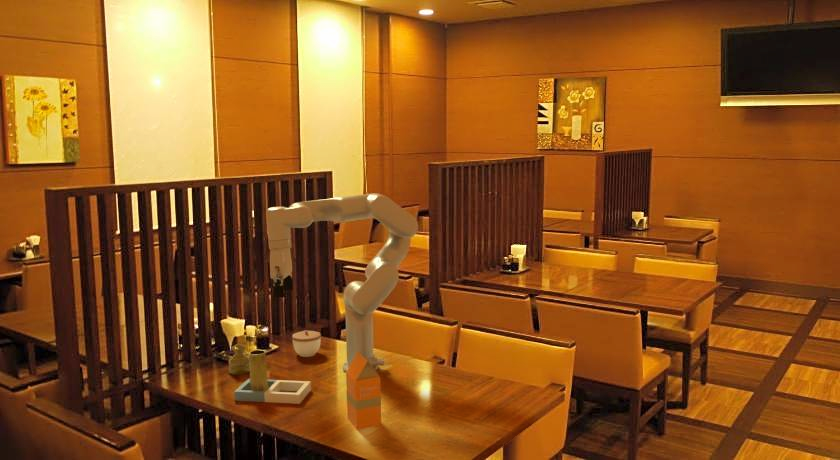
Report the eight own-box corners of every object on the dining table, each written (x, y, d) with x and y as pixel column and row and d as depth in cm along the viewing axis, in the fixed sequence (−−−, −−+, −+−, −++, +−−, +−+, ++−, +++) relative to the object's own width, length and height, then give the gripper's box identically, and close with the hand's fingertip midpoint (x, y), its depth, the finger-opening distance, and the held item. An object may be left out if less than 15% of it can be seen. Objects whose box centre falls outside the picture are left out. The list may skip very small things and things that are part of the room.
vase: (264, 398, 225) (262, 355, 222) (246, 397, 226) (244, 354, 224) (272, 391, 231) (270, 349, 228) (254, 390, 232) (252, 348, 230)
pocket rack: (310, 390, 231) (310, 381, 231) (299, 403, 220) (299, 394, 220) (248, 387, 235) (248, 378, 234) (234, 400, 223) (234, 391, 223)
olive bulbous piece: (255, 370, 251) (253, 343, 250) (239, 376, 245) (237, 348, 243) (240, 366, 255) (238, 340, 254) (224, 372, 249) (223, 345, 247)
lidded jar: (308, 360, 260) (307, 336, 259) (287, 356, 266) (286, 332, 265) (327, 352, 269) (326, 329, 268) (306, 348, 275) (305, 325, 274)
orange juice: (356, 429, 201) (354, 362, 198) (347, 418, 209) (344, 353, 206) (382, 424, 204) (380, 358, 201) (371, 413, 212) (370, 349, 209)
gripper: (277, 239, 244) (281, 287, 247) (260, 249, 227) (264, 300, 230) (298, 238, 243) (302, 287, 246) (282, 248, 226) (287, 300, 229)
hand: (284, 293), depth 238 cm, fingers open, 9 cm apart
